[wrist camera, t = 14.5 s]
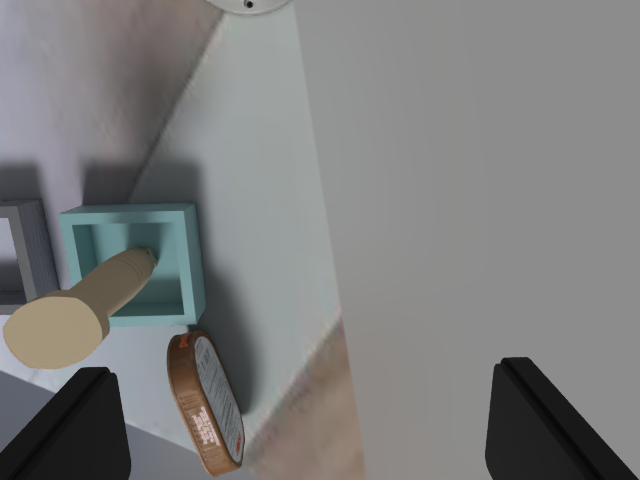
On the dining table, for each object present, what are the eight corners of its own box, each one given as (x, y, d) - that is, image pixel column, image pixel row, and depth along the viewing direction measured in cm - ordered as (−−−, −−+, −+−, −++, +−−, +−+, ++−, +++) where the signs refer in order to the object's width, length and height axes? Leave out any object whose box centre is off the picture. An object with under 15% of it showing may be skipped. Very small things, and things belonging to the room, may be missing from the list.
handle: (183, 270, 42) (115, 348, 28) (125, 292, 43) (29, 380, 29) (160, 225, 41) (77, 284, 27) (101, 249, 42) (-12, 319, 27)
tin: (180, 321, 45) (151, 365, 37) (208, 313, 45) (185, 356, 37) (227, 436, 49) (210, 499, 41) (254, 429, 49) (242, 491, 41)
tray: (82, 205, 42) (58, 214, 38) (195, 202, 42) (183, 210, 38) (100, 309, 45) (80, 327, 41) (206, 306, 45) (196, 324, 41)
